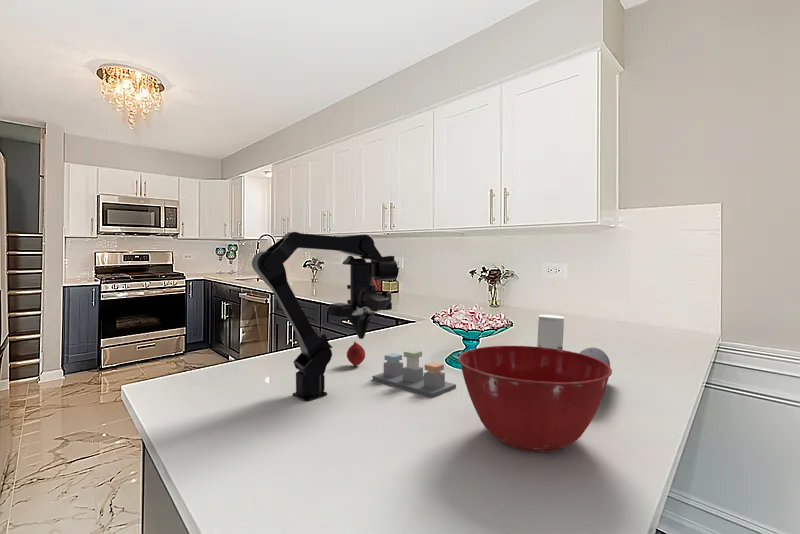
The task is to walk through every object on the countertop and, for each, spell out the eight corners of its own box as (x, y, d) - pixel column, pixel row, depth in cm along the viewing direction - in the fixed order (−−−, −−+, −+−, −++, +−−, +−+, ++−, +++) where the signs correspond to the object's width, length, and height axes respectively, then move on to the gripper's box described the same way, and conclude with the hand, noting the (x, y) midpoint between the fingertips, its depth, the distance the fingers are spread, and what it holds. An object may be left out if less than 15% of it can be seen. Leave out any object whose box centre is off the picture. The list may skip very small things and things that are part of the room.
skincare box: (536, 360, 141) (537, 316, 141) (537, 356, 147) (537, 313, 146) (563, 362, 138) (564, 317, 138) (563, 358, 144) (563, 315, 144)
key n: (413, 371, 114) (413, 353, 114) (403, 368, 117) (403, 351, 117) (422, 368, 117) (422, 351, 117) (412, 366, 119) (412, 349, 119)
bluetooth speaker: (575, 377, 122) (576, 343, 122) (611, 383, 118) (612, 347, 117) (561, 402, 103) (561, 361, 102) (603, 409, 98) (604, 366, 98)
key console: (432, 397, 106) (432, 379, 106) (372, 379, 121) (372, 363, 121) (456, 388, 113) (456, 371, 113) (396, 372, 128) (396, 357, 128)
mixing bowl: (497, 400, 104) (497, 338, 103) (626, 432, 86) (627, 357, 85) (430, 441, 82) (430, 362, 81) (585, 494, 64) (586, 394, 63)
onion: (366, 363, 137) (366, 339, 137) (363, 368, 132) (363, 343, 131) (349, 363, 138) (348, 339, 138) (345, 368, 132) (344, 343, 132)
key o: (393, 374, 119) (393, 357, 119) (384, 371, 122) (384, 355, 122) (402, 371, 122) (402, 354, 122) (393, 368, 125) (393, 352, 124)
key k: (435, 385, 109) (435, 367, 109) (424, 382, 112) (424, 364, 112) (443, 382, 112) (443, 364, 112) (433, 379, 114) (433, 362, 114)
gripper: (354, 285, 102) (354, 349, 102) (406, 280, 115) (406, 337, 116) (326, 282, 109) (326, 342, 110) (377, 279, 123) (378, 332, 124)
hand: (361, 338), depth 115 cm, fingers closed
